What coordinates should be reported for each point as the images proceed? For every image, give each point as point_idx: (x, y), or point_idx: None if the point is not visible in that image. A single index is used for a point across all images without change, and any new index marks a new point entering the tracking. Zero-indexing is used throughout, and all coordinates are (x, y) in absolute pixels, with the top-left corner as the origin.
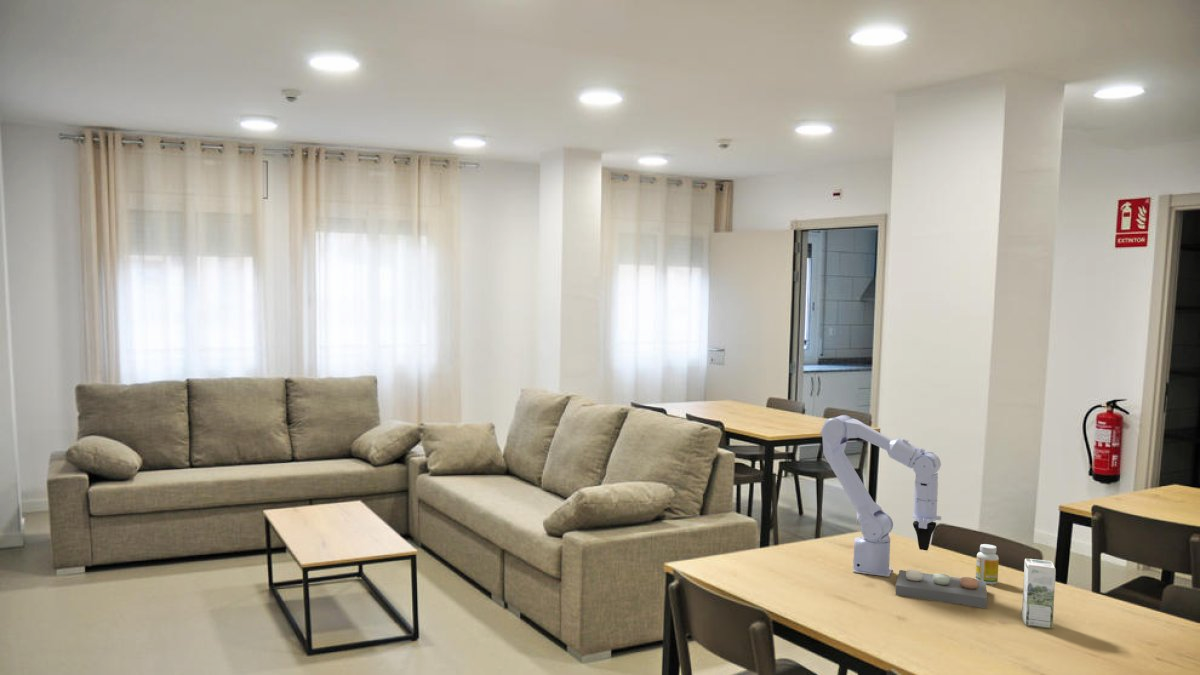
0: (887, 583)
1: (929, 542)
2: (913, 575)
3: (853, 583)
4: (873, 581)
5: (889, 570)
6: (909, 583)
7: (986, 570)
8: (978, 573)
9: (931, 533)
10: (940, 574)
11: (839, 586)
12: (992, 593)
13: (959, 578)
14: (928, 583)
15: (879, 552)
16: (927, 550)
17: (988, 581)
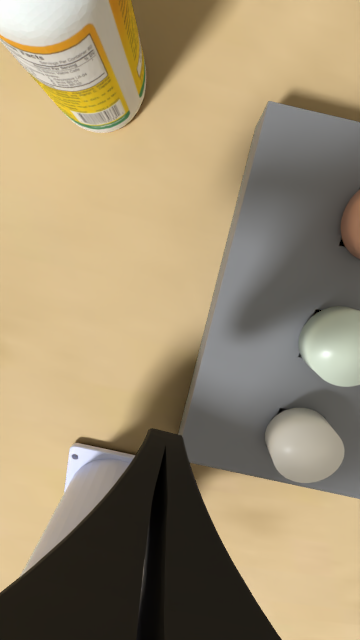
0: (233, 474)
1: (194, 480)
2: (338, 460)
3: (255, 556)
4: (222, 507)
5: (110, 457)
6: (348, 456)
7: (132, 42)
8: (112, 107)
9: (248, 593)
10: (325, 350)
11: (290, 588)
12: (281, 97)
13: (241, 238)
14: (341, 390)
15: (142, 580)
16: (181, 435)
17: (144, 73)
